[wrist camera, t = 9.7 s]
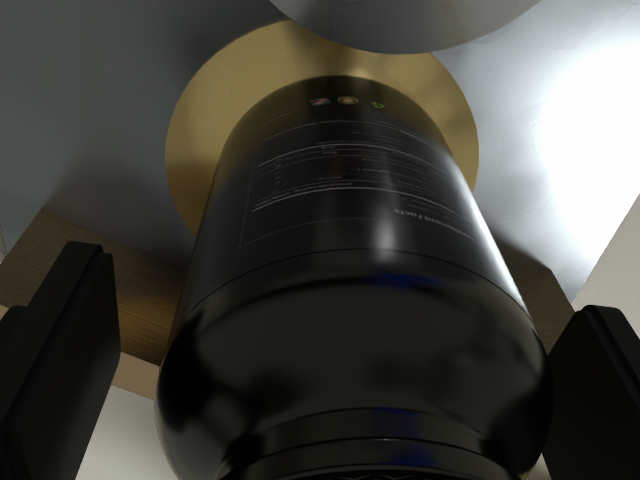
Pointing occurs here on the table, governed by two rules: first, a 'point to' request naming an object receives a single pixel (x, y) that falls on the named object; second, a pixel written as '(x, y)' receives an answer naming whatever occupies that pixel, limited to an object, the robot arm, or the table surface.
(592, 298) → the table surface
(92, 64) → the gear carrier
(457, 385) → the supplement bottle
